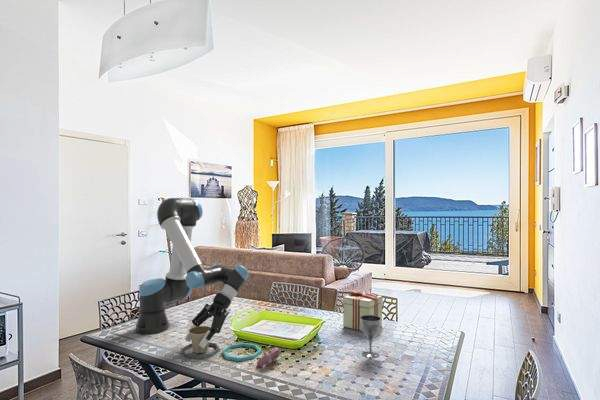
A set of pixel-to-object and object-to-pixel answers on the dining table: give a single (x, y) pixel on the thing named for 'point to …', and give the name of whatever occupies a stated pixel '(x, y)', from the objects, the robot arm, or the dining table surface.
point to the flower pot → (198, 338)
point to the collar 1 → (200, 355)
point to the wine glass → (370, 332)
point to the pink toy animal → (269, 357)
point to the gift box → (360, 308)
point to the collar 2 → (241, 357)
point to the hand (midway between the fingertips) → (193, 343)
